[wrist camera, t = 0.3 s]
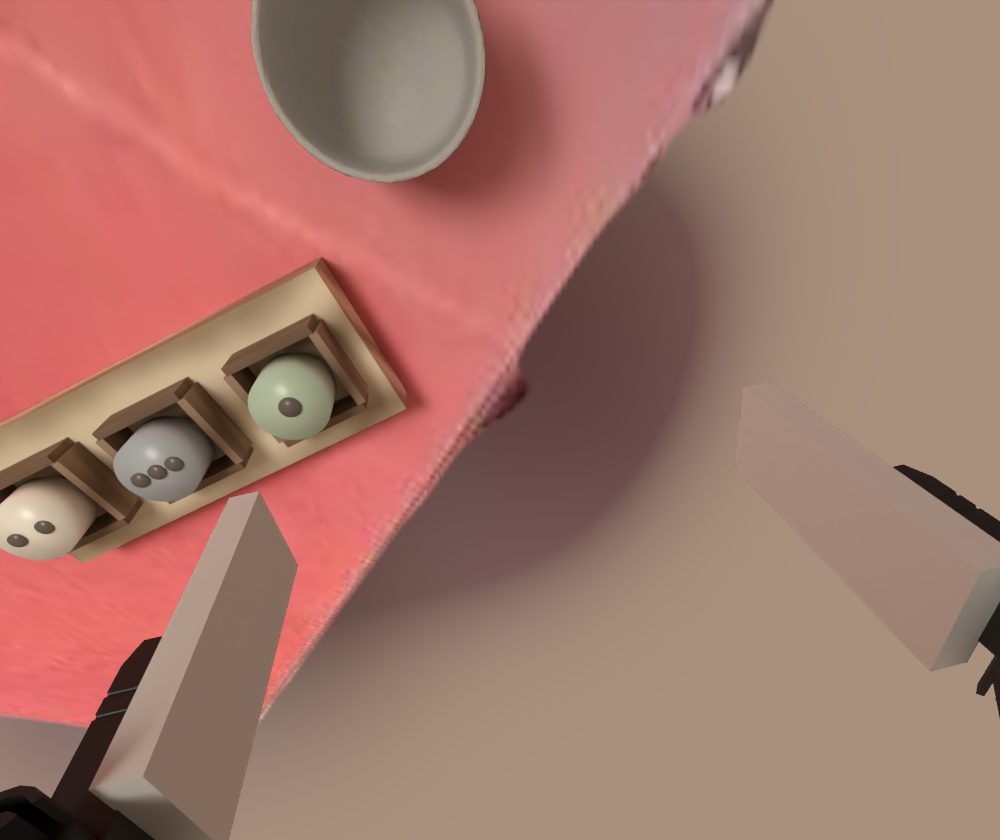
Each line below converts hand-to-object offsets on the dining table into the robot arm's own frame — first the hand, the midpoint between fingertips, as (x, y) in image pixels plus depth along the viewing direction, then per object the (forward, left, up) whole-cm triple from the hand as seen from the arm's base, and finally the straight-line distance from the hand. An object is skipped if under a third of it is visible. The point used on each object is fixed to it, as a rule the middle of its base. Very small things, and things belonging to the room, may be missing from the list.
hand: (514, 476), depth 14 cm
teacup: (-13, +2, -27) cm, 30 cm away
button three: (+2, -23, -22) cm, 32 cm away
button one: (+2, -13, -22) cm, 26 cm away
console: (+2, -23, -27) cm, 35 cm away
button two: (+2, -33, -22) cm, 40 cm away
